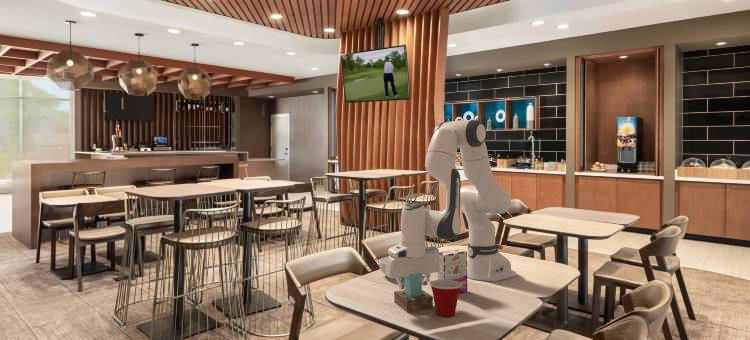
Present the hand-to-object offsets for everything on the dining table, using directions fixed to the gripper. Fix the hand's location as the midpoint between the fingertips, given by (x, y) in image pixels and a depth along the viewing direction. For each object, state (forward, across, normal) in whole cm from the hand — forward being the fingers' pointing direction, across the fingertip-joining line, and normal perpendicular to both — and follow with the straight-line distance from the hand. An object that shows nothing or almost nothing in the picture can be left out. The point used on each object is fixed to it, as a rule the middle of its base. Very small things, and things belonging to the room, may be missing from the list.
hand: (413, 286), depth 166 cm
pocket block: (+8, 0, 0) cm, 8 cm away
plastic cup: (+8, -6, +12) cm, 15 cm away
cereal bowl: (+8, -11, -35) cm, 38 cm away
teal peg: (+7, 0, 0) cm, 7 cm away
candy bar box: (+8, -21, -8) cm, 24 cm away
